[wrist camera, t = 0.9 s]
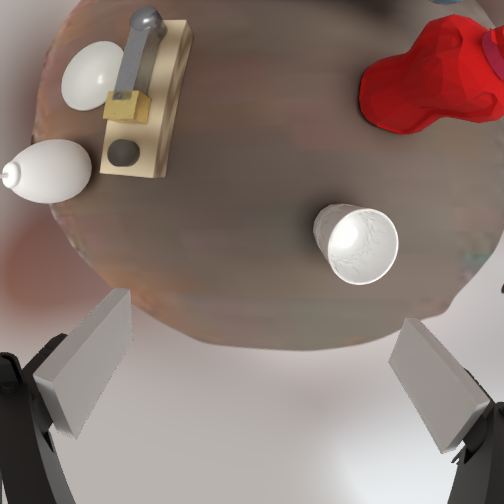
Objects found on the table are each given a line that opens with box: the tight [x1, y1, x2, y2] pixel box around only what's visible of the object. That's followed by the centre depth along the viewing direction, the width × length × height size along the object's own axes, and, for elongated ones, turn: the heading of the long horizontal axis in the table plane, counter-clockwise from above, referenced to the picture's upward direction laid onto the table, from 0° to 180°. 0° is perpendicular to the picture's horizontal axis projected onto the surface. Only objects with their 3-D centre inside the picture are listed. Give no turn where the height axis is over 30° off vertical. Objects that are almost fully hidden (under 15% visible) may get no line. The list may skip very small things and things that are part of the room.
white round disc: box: [61, 41, 124, 111], centre depth 31 cm, size 11×11×1 cm
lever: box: [103, 6, 167, 124], centre depth 25 cm, size 14×4×4 cm, turn 170°
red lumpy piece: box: [359, 14, 504, 135], centre depth 21 cm, size 9×11×25 cm
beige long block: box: [100, 20, 194, 178], centre depth 29 cm, size 20×7×8 cm, turn 170°
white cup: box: [313, 203, 398, 285], centre depth 33 cm, size 8×8×10 cm
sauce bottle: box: [0, 139, 92, 203], centre depth 26 cm, size 8×8×18 cm
